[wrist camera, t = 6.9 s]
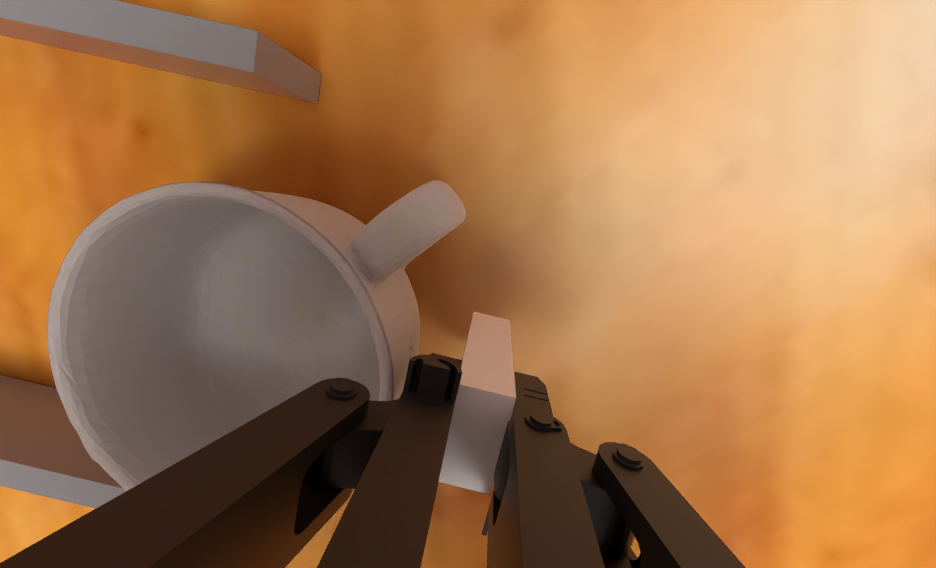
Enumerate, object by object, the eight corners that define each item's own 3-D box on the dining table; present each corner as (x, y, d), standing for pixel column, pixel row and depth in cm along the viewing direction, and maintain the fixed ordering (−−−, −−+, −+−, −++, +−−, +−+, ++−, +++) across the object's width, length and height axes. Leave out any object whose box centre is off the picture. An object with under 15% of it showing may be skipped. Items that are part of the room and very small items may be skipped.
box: (270, 459, 22) (206, 534, 17) (-108, 371, 23) (-275, 420, 18) (321, 73, 18) (257, 31, 13) (-137, -26, 19) (-360, -102, 14)
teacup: (277, 444, 22) (157, 583, 14) (161, 248, 20) (-49, 283, 12) (535, 335, 20) (560, 427, 12) (430, 108, 18) (381, 45, 10)
